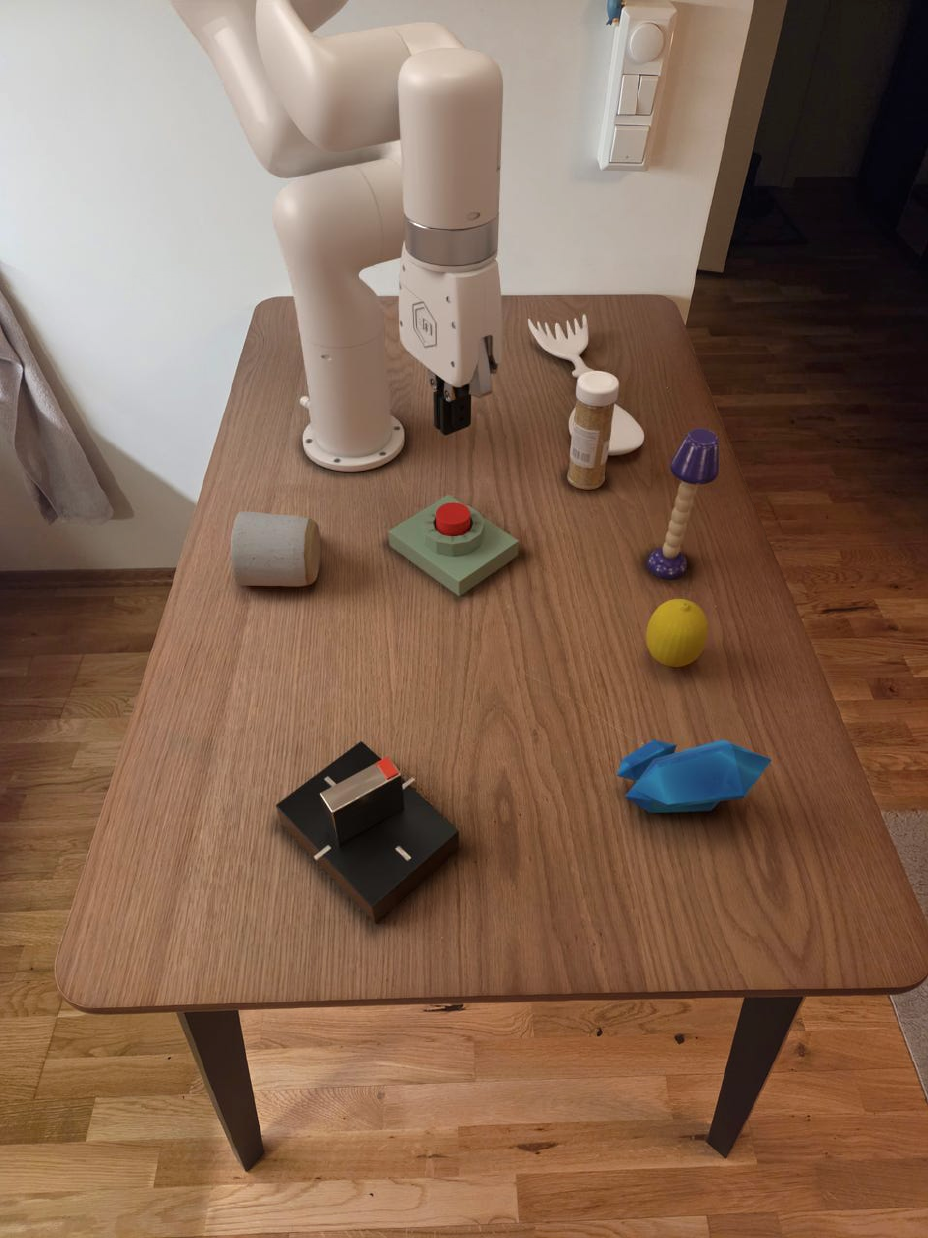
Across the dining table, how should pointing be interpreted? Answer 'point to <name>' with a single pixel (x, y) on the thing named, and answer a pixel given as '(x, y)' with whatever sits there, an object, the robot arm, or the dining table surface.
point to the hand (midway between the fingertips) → (452, 426)
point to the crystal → (690, 775)
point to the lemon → (677, 632)
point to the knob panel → (370, 839)
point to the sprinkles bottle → (592, 429)
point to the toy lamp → (685, 497)
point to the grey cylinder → (274, 549)
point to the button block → (454, 548)
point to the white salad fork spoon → (623, 425)
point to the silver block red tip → (363, 800)
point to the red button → (453, 519)
